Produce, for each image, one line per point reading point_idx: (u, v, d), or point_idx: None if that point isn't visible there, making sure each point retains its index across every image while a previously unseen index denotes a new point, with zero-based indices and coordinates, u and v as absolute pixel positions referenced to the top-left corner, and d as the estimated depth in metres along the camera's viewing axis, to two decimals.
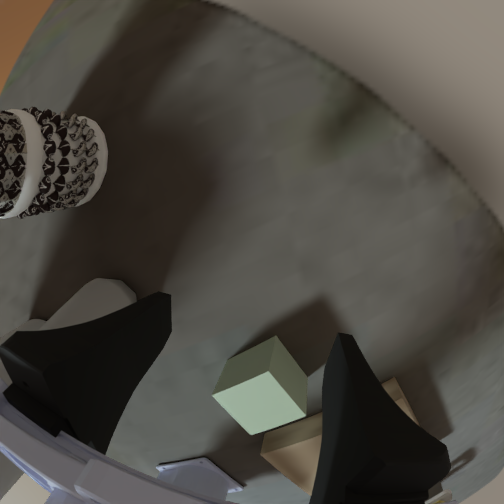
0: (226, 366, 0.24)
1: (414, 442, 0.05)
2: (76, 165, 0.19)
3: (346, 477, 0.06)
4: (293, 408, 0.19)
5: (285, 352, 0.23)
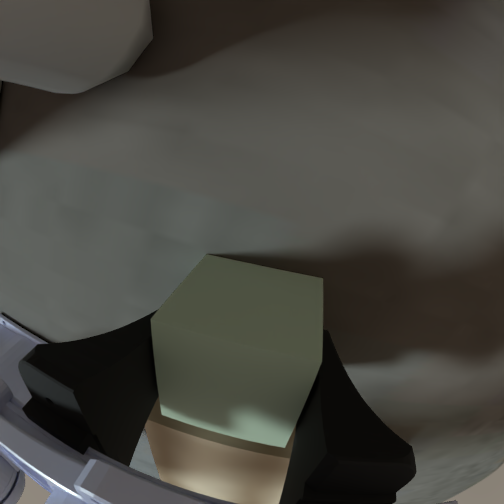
0: (201, 268, 0.12)
1: (376, 441, 0.05)
2: None
3: (306, 473, 0.06)
4: (280, 432, 0.09)
5: None
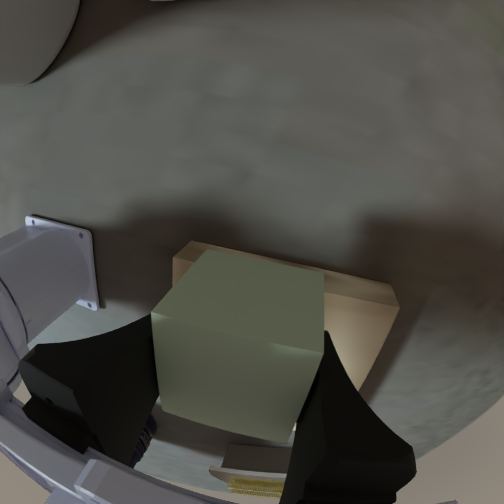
0: (202, 262, 0.12)
1: (377, 441, 0.05)
2: None
3: (307, 473, 0.06)
4: (282, 427, 0.09)
5: None
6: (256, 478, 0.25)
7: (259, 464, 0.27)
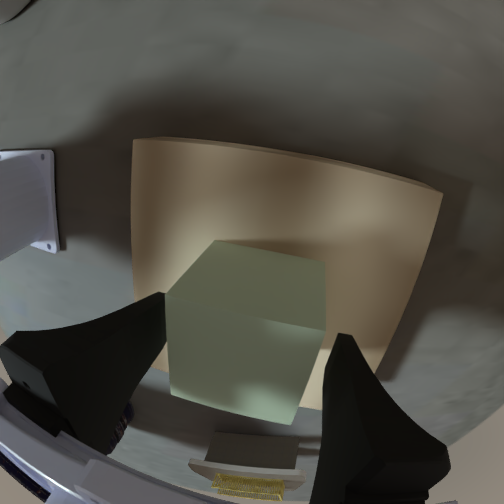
0: (210, 251, 0.12)
1: (415, 442, 0.05)
2: None
3: (346, 477, 0.06)
4: (287, 407, 0.10)
5: None
6: (248, 476, 0.19)
7: (252, 457, 0.21)
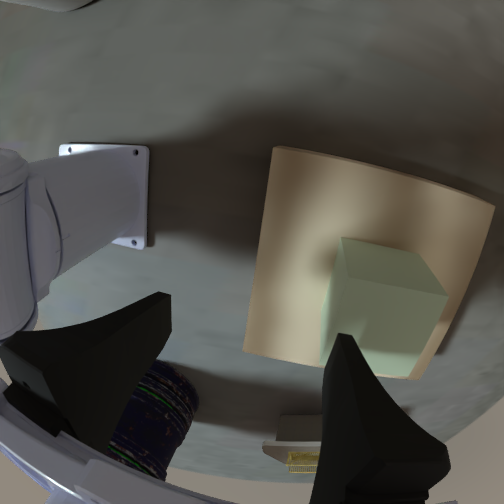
0: (346, 246, 0.15)
1: (415, 442, 0.05)
2: None
3: (346, 477, 0.06)
4: (410, 360, 0.13)
5: None
6: (319, 450, 0.22)
7: (320, 434, 0.24)
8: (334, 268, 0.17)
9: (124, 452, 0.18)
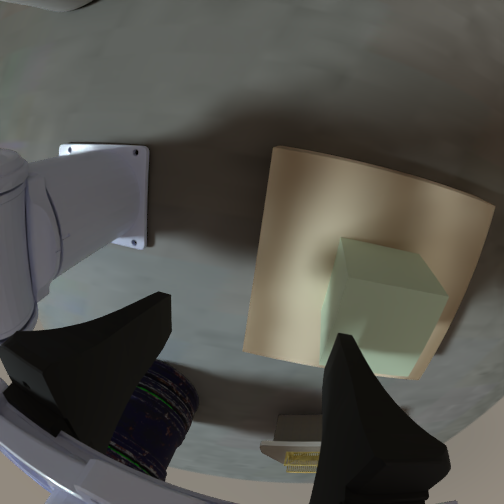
0: (346, 246, 0.15)
1: (415, 442, 0.05)
2: None
3: (346, 477, 0.06)
4: (410, 360, 0.13)
5: None
6: (317, 450, 0.22)
7: (317, 434, 0.24)
8: (334, 268, 0.17)
9: (124, 452, 0.18)
